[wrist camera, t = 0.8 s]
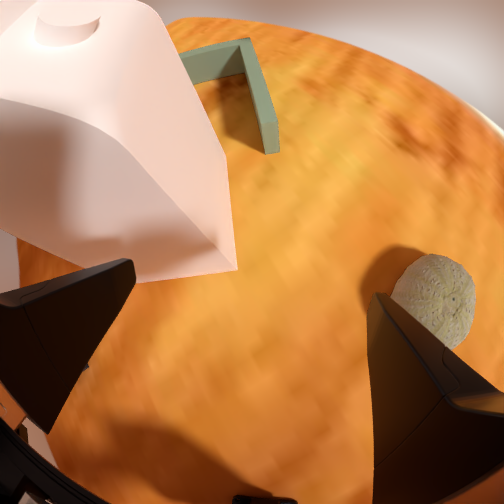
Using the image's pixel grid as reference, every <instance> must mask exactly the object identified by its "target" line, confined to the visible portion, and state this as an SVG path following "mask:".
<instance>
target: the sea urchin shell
mask: <svg viewBox="0 0 504 504" xmlns="http://www.w3.org/2000/svg"><path fill="white" fill-rule="evenodd" d="M390 298H392V299H393V300H394V301H395V302H396V303H398V304H399V305H400V306H401V307H402V308H404V309H405V310H406V311H407V312H408V313H409V314H411V315H412V316H413V317H414V318H415V319H416V320H418V321H419V322H420V323H421V324H422V325H423V326H425V327H426V328H427V329H428V330H429V331H430V332H431V333H432V334H434V335H435V336H436V337H437V338H438V339H439V340H440V341H441V342H442V343H444V344H445V346H447V347H448V348H449V349H450V350H452V349H454V348H455V347H456V346H457V345H459V344H460V343H461V342H462V341H463V340H465V338H466V336H467V335H468V334H469V331H470V328H471V324H472V321H473V318H474V310H475V302H476V297H475V285H474V282H473V280H472V277H471V276H470V275H469V274H468V272H467V271H466V270H465V269H464V268H463V266H462V265H461V264H458V263H457V262H455V261H453V260H451V259H450V258H448V257H445V256H441V255H435V254H429V255H425V256H421V257H420V258H419V259H417V260H416V261H415V262H413V263H412V264H411V265H409V266H408V267H407V269H405V272H404V273H403V275H402V276H401V277H400V278H399V279H398V281H397V282H396V284H395V287H394V290H393V292H392V294H391V296H390Z"/></svg>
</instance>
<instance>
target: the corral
mask: <svg viewBox="0 0 504 504" xmlns="http://www.w3.org/2000/svg"><path fill="white" fill-rule="evenodd" d="M178 55H179V57H180V59H181V61H182V63H183V65H184V67H185V69H186V71H187V74H188V76H189V78H190V80H191V82H192V84H193V85H194V84H198V83H201V82H205V81H209V80H213V79H217V78H222V77H226V76H231V75H236V74H241V73H245V75H246V78H247V82H248V86H249V90H250V94H251V98H252V101H253V105H254V109H255V113H256V117H257V121H258V125H259V129H260V134H261V138H262V142H263V146H264V150H265V155H266V154H272V153H278V152H280V146H279V130H278V120H277V117H276V113H275V110H274V107H273V104H272V101H271V97H270V94H269V91H268V88H267V85H266V82H265V79H264V76H263V73H262V70H261V68H260V65H259V62H258V59H257V56H256V53H255V51H254V48H253V45H252V42H251V40H250V37H249V38H243V39H238V40H232V41H227V42H223V43H218V44H214V45H210V46H206V47H202V48H198V49H194V50H191V51H187V52H184V53H180V54H178Z"/></svg>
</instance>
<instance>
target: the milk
mask: <svg viewBox="0 0 504 504" xmlns="http://www.w3.org/2000/svg"><path fill="white" fill-rule="evenodd" d="M0 229H2V230H4V231H6V232H8V233H10V234H11V235H14V236H15V237H17V238H19V239H21V240H23V241H26V242H28V243H30V244H32V245H34V246H36V247H38V248H40V249H42V250H44V251H47V252H49V253H51V254H53V255H55V256H58V257H60V258H62V259H65V260H67V261H69V262H71V263H74V264H76V265H78V266H81V267H83V268H90V267H93V266H96V265H100V264H103V263H107V262H110V261H114V260H117V259H121V258H128V259H131V260H133V262H134V267H135V273H136V283H143V282H151V281H159V280H167V279H175V278H182V277H190V276H198V275H205V274H213V273H220V272H227V271H234V270H238V269H237V260H236V251H235V242H234V232H233V223H232V213H231V203H230V193H229V183H228V172H227V162H226V155H225V153H224V151H223V149H222V147H221V145H220V142H219V140H218V138H217V136H216V134H215V131H214V129H213V127H212V125H211V123H210V121H209V118H208V116H207V114H206V112H205V110H204V108H203V105H202V103H201V101H200V99H199V97H198V95H197V93H196V90H195V88H194V86H193V84H192V82H191V80H190V78H189V76H188V74H187V71H186V69H185V67H184V65H183V63H182V61H181V59H180V57H179V55H178V53H177V50H176V48H175V46H174V44H173V42H172V40H171V38H170V36H169V34H168V32H167V30H166V28H165V26H164V24H163V22H162V20H161V18H160V16H159V15H158V14H157V12H156V11H155V10H154V9H152V8H151V7H150V6H148V5H147V4H144V3H142V2H140V1H137V0H0Z"/></svg>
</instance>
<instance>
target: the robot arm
mask: <svg viewBox="0 0 504 504" xmlns="http://www.w3.org/2000/svg"><path fill="white" fill-rule="evenodd" d="M135 283H136V273H135V267H134V262H133V260H131V259H128V258H121V259H117V260H114V261H110V262H107V263H103V264H100V265H96V266H93V267H90V268H86V269H83V270H80V271H76V272H73V273H70V274H66V275H63V276H60V277H57V278H53V279H51V280H47V281H44V282H40V283H37V284H34V285H30V286H27V287H23V288H19V289H16V290H12V291H8V292H4V293H1V294H0V504H50V503H48V502H46V501H45V500H47V501H49V502H51V503H52V504H111V503H109V502H107V501H106V500H104V499H102V498H100V497H99V496H97V495H95V494H94V493H92V492H90V491H89V490H87V489H86V488H84V487H83V486H81V485H80V484H78V483H77V482H75V481H74V480H72V479H71V478H69V477H68V476H67V475H65V474H64V473H63V472H61V471H60V470H59V469H57V468H56V467H55V466H53V465H52V464H51V463H50V462H48V461H47V460H46V459H45V458H44V457H42V456H41V455H40V454H39V453H37V452H36V451H35V450H34V449H33V448H32V447H31V446H30V445H29V444H28V434H27V428H26V427H25V426H24V425H23V424H22V422H23V421H24V419H25V418H26V417H27V418H28V419H29V420H31V421H32V422H33V423H34V424H35V425H36V426H37V427H39V428H40V429H41V430H42V431H43V432H45V433H46V434H47V435H48V434H49V433H50V431H51V429H52V427H53V425H54V423H55V421H56V419H57V417H58V415H59V413H60V411H61V409H62V407H63V406H64V404H65V402H66V400H67V398H68V396H69V394H70V392H71V391H72V389H73V387H74V385H75V383H76V382H77V380H78V378H79V376H80V375H81V373H82V371H83V370H84V368H85V366H86V365H87V363H88V361H89V360H90V358H91V356H92V355H93V353H94V351H95V350H96V348H97V347H98V345H99V343H100V342H101V340H102V339H103V337H104V335H105V334H106V332H107V331H108V329H109V328H110V326H111V325H112V323H113V322H114V320H115V319H116V317H117V316H118V314H119V312H120V311H121V309H122V307H123V305H124V303H125V302H126V300H127V298H128V296H129V294H130V292H131V291H132V289H133V287H134V285H135ZM367 357H368V366H369V376H370V386H371V398H372V413H373V436H374V468H375V469H374V477H373V500H372V504H504V393H503V392H501V391H499V390H498V389H497V388H495V387H494V386H493V385H492V384H491V383H489V382H488V381H487V380H486V379H484V378H483V377H482V376H481V375H480V374H478V373H477V372H476V371H475V370H473V369H472V368H471V367H470V366H469V365H467V364H466V363H465V362H464V361H462V360H461V359H460V358H459V357H458V356H457V355H456V354H455V353H453V352H452V351H451V350H450V349H449V348H448V347H447V346H445V344H444V343H442V342H441V341H440V340H439V339H438V338H437V337H436V336H435V335H434V334H432V333H431V332H430V331H429V330H428V329H427V328H426V327H425V326H423V325H422V324H421V323H420V322H419V321H418V320H416V319H415V318H414V317H413V316H412V315H411V314H409V313H408V312H407V311H406V310H405V309H404V308H402V307H401V306H400V305H399V304H398V303H396V302H395V301H394V300H393V299H392V298H390V297H389V296H388V295H387V294H386V293H379V292H375V293H374V294H373V296H372V299H371V302H370V306H369V309H368V312H367ZM237 499H239V500H237ZM232 504H298V502H297V501H293V500H275V499H264V498H254V497H247V496H240V495H236V496H234V497H233V500H232Z"/></svg>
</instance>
